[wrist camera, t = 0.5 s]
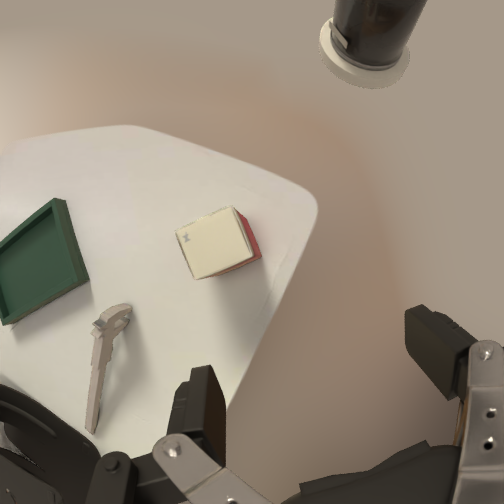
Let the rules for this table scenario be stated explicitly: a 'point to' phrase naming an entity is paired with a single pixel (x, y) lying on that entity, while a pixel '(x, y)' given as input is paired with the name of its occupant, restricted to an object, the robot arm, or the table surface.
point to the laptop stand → (42, 455)
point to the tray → (39, 262)
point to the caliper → (103, 356)
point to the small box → (217, 243)
